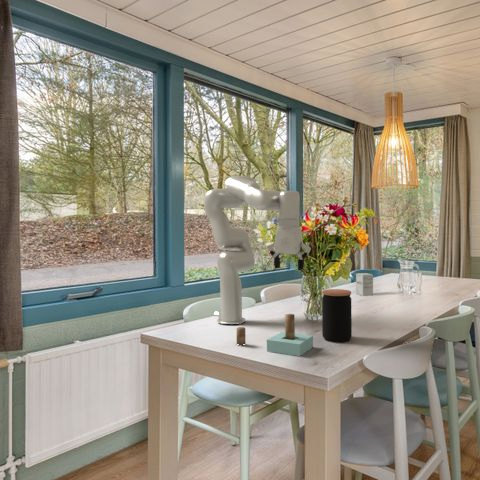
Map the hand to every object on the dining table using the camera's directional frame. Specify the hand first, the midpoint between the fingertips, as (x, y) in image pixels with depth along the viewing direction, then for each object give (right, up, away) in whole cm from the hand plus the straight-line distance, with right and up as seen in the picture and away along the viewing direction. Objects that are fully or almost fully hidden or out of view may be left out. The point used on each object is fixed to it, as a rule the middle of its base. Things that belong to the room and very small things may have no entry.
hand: (288, 269), depth 165 cm
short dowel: (-18, -27, -8) cm, 33 cm away
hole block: (-1, -27, -14) cm, 30 cm away
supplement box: (+56, -22, +96) cm, 113 cm away
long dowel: (-1, -27, -14) cm, 30 cm away
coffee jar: (+18, -26, -2) cm, 32 cm away
